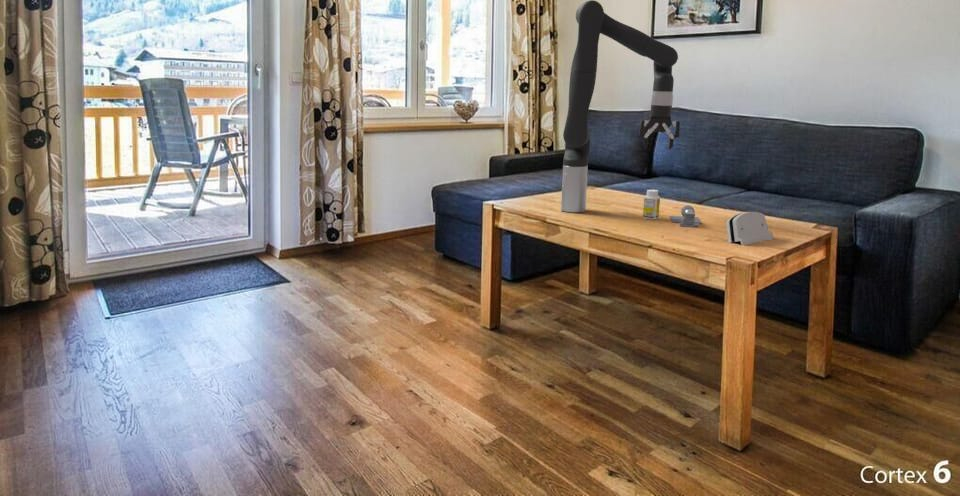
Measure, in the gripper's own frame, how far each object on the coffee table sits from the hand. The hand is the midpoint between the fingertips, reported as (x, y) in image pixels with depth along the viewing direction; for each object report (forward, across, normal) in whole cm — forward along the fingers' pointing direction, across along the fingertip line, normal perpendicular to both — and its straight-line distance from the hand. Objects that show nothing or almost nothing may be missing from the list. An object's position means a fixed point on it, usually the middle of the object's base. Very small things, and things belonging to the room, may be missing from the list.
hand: (657, 148), depth 246 cm
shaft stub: (+24, +10, -22) cm, 34 cm away
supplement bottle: (+24, -2, -13) cm, 27 cm away
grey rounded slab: (+24, +26, -40) cm, 53 cm away
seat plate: (+24, +10, -14) cm, 29 cm away
